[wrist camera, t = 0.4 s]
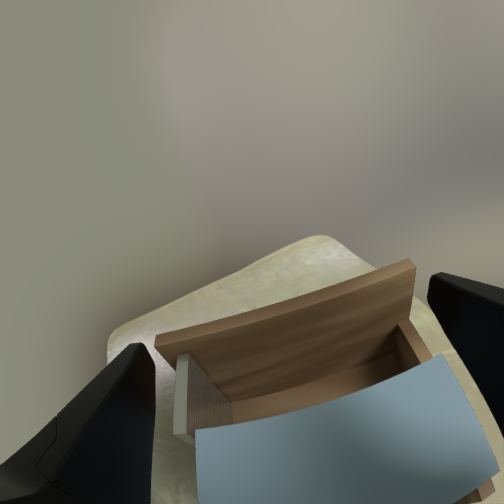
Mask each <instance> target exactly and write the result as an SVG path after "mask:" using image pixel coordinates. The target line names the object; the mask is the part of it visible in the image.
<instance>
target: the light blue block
mask: <svg viewBox="0 0 504 504" xmlns="http://www.w3.org/2000/svg"><path fill="white" fill-rule="evenodd" d="M195 442H196V475H197V495H198V504H453V503H455V502H456V501H458V500H460V499H461V498H463V497H464V496H466V495H467V494H469V493H470V492H472V491H473V490H475V489H476V488H478V487H479V486H481V485H482V484H483V483H485V482H486V481H487V480H489V479H490V478H491V477H493V476H494V475H495V474H497V473H498V472H499V471H500V469H499V466H498V464H497V461H496V459H495V456H494V454H493V451H492V449H491V446H490V444H489V442H488V440H487V437H486V435H485V433H484V431H483V429H482V426H481V424H480V422H479V420H478V418H477V416H476V414H475V412H474V410H473V408H472V406H471V404H470V402H469V400H468V398H467V397H466V395H465V393H464V391H463V389H462V387H461V386H460V384H459V382H458V380H457V378H456V377H455V375H454V373H453V371H452V370H451V368H450V366H449V365H448V363H447V361H446V360H445V358H444V356H443V355H442V353H441V354H439V355H437V356H435V357H434V358H432V359H430V360H428V361H426V362H424V363H422V364H420V365H418V366H416V367H414V368H412V369H410V370H407V371H405V372H403V373H401V374H399V375H397V376H394V377H392V378H390V379H387V380H385V381H383V382H380V383H378V384H375V385H373V386H370V387H368V388H365V389H363V390H360V391H357V392H355V393H352V394H349V395H346V396H343V397H340V398H338V399H335V400H331V401H328V402H325V403H322V404H319V405H315V406H312V407H309V408H305V409H301V410H298V411H294V412H290V413H286V414H282V415H278V416H274V417H269V418H265V419H260V420H255V421H250V422H245V423H239V424H233V425H227V426H220V427H213V428H205V429H197V430H195Z"/></svg>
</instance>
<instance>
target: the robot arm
mask: <svg viewBox="0 0 504 504" xmlns="http://www.w3.org/2000/svg"><path fill="white" fill-rule="evenodd" d="M427 301H428V304H429V306H430V307H431V309H432V311H433V313H434V314H435V316H436V318H437V320H438V322H439V323H440V325H441V327H442V329H443V331H444V333H445V334H446V336H447V338H448V339H449V341H450V343H451V344H452V346H453V347H454V349H455V350H456V352H457V353H458V355H459V357H460V358H461V360H462V361H463V363H464V365H465V366H466V368H467V369H468V371H469V373H470V374H471V376H472V378H473V380H474V381H475V383H476V385H477V386H478V388H479V390H480V392H481V394H482V395H483V397H484V399H485V401H486V403H487V405H488V407H489V409H490V410H491V412H492V414H493V416H494V418H495V420H496V422H497V425H498V427H499V429H500V431H501V433H502V436H503V438H504V289H503V288H499V287H496V286H492V285H488V284H485V283H481V282H477V281H474V280H470V279H466V278H462V277H459V276H455V275H450V274H447V273H443V272H440V273H437V274H434V275H432V276H431V278H430V281H429V288H428V294H427ZM155 373H156V369H155V364H154V361H153V359H152V358H151V356H150V354H149V352H148V350H147V348H146V346H145V345H144V344H143V343H132V344H129V345H128V346H127V347H126V348H125V349H124V350H123V351H122V352H121V353H120V354H119V355H118V356H117V357H116V358H114V359H113V360H112V361H111V362H110V363H109V364H108V365H107V366H106V367H105V368H104V369H103V370H102V371H101V372H100V373H99V374H98V375H97V376H96V377H95V378H94V379H93V380H92V381H91V382H90V383H89V384H88V385H87V386H86V387H84V388H83V389H82V391H80V392H79V394H77V395H76V396H75V397H74V398H73V399H72V400H71V401H70V402H69V403H68V404H67V405H66V406H65V407H64V408H63V409H62V410H61V411H60V412H59V413H58V414H57V417H54V418H53V419H52V420H51V421H50V422H49V423H48V424H47V425H46V426H45V427H44V428H43V429H42V430H41V431H40V432H39V433H38V434H37V435H36V436H34V437H33V438H32V439H31V440H30V441H28V442H27V443H26V444H25V445H24V446H23V447H22V448H20V449H19V450H18V451H17V452H16V453H14V454H13V455H12V456H11V457H10V458H9V459H7V460H6V461H5V462H4V463H2V464H1V465H0V504H151V470H152V452H153V438H154V426H155V413H156V395H155Z"/></svg>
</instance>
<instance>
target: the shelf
mask: <svg viewBox="0 0 504 504" xmlns="http://www.w3.org/2000/svg"><path fill="white" fill-rule="evenodd" d="M415 275H416V266H415V265H414V264H413V263H412V262H411V260H410V259H409V258H407V259H405V260H402V261H400V262H397V263H394V264H391V265H389V266H386V267H383V268H381V269H378V270H375V271H372V272H370V273H367V274H364V275H361V276H358V277H356V278H353V279H350V280H347V281H344V282H341V283H338V284H335V285H332V286H329V287H326V288H323V289H320V290H317V291H314V292H311V293H308V294H305V295H301V296H298V297H295V298H292V299H289V300H285V301H282V302H279V303H275V304H272V305H269V306H265V307H262V308H259V309H255V310H252V311H248V312H245V313H241V314H237V315H234V316H230V317H226V318H223V319H219V320H215V321H211V322H208V323H204V324H200V325H196V326H192V327H188V328H184V329H180V330H176V331H171V332H167V333H163V334H158V335H156V338H155V344H154V347H155V349H156V350H157V351H158V352H159V353H160V354H161V356H162V357H163V358H164V359H165V360H166V361H167V362H168V363H169V365H170V366H171V367H172V368H173V369H174V370H175V371H176V367H177V356H178V355H183V354H187V353H189V354H190V356H191V357H192V358H193V359H194V361H195V362H196V363H197V364H198V366H199V367H200V368H201V369H202V371H203V372H204V373H205V374H206V375H207V377H208V378H209V379H210V380H211V381H212V383H213V384H214V385H215V386H216V387H217V388H218V390H219V391H220V392H221V393H222V394H223V395H224V396H225V398H226V399H227V400H228V401H229V402H230V403H231V404H232V412H233V424H239V423H245V422H250V421H255V420H260V419H265V418H269V417H274V416H278V415H282V414H286V413H290V412H294V411H298V410H301V409H305V408H309V407H312V406H315V405H319V404H322V403H325V402H328V401H331V400H335V399H338V398H340V397H343V396H346V395H349V394H352V393H355V392H357V391H360V390H363V389H365V388H368V387H370V386H373V385H375V384H378V383H380V382H383V381H385V380H387V379H390V378H392V377H394V376H397V375H399V374H401V373H403V372H405V371H407V370H410V369H412V368H414V367H416V366H418V365H420V364H422V363H424V362H426V361H428V360H430V359H432V358H433V357H432V355H431V353H430V352H429V350H428V348H427V347H426V345H425V343H424V342H423V340H422V338H421V337H420V335H419V334H418V332H417V330H416V329H415V327H414V326H413V324H412V323H411V321H410V320H409V316H410V310H411V304H412V297H413V290H414V282H415ZM494 492H495V488H494V485H493V482H492V480H491V478H490V479H489V480H487V481H486V482H485V483H483V484H482V485H481V486H479V487H478V488H476V489H475V490H473V491H472V492H470V493H469V494H467V495H466V496H464V497H463V498H461V499H460V500H458V501H456V502H455V503H453V504H471V503H476V502H481V501H483V500H484V499H486V498H487V497H488V496H490V495H491V494H492V493H494Z"/></svg>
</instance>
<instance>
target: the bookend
mask: <svg viewBox="0 0 504 504" xmlns="http://www.w3.org/2000/svg"><path fill="white" fill-rule="evenodd" d="M227 425H233V412H232V404H231V403H230V402H229V401H228V400H227V399H226V398H225V396H224V395H223V394H222V393H221V392H220V391H219V390H218V388H217V387H216V386H215V385H214V384H213V383H212V381H211V380H210V379H209V378H208V377H207V375H206V374H205V373H204V372H203V371H202V369H201V368H200V367H199V366H198V364H197V363H196V362H195V361H194V359H193V358H192V357H191V356H190V354H189V353H187V354H183V355H178V356H177V367H176V381H175V397H174V417H173V435H174V436H176V437H178V438H179V439H181V440H182V441H184V442H186V443H187V444H189V445H191V446H193V447H194V448H196V442H195V430H197V429H205V428H213V427H220V426H227Z"/></svg>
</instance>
